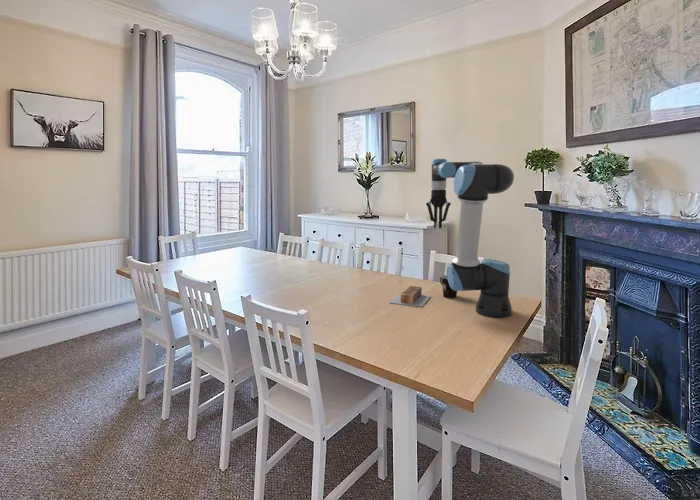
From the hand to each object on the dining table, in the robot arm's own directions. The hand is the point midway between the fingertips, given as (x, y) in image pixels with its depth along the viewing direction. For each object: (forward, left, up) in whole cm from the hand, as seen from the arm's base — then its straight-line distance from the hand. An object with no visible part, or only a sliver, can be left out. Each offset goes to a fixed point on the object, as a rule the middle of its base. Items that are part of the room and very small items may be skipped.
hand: (437, 234), depth 214 cm
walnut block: (+7, +17, -27) cm, 33 cm away
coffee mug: (-9, +12, -30) cm, 33 cm away
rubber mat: (+7, +26, -29) cm, 40 cm away
